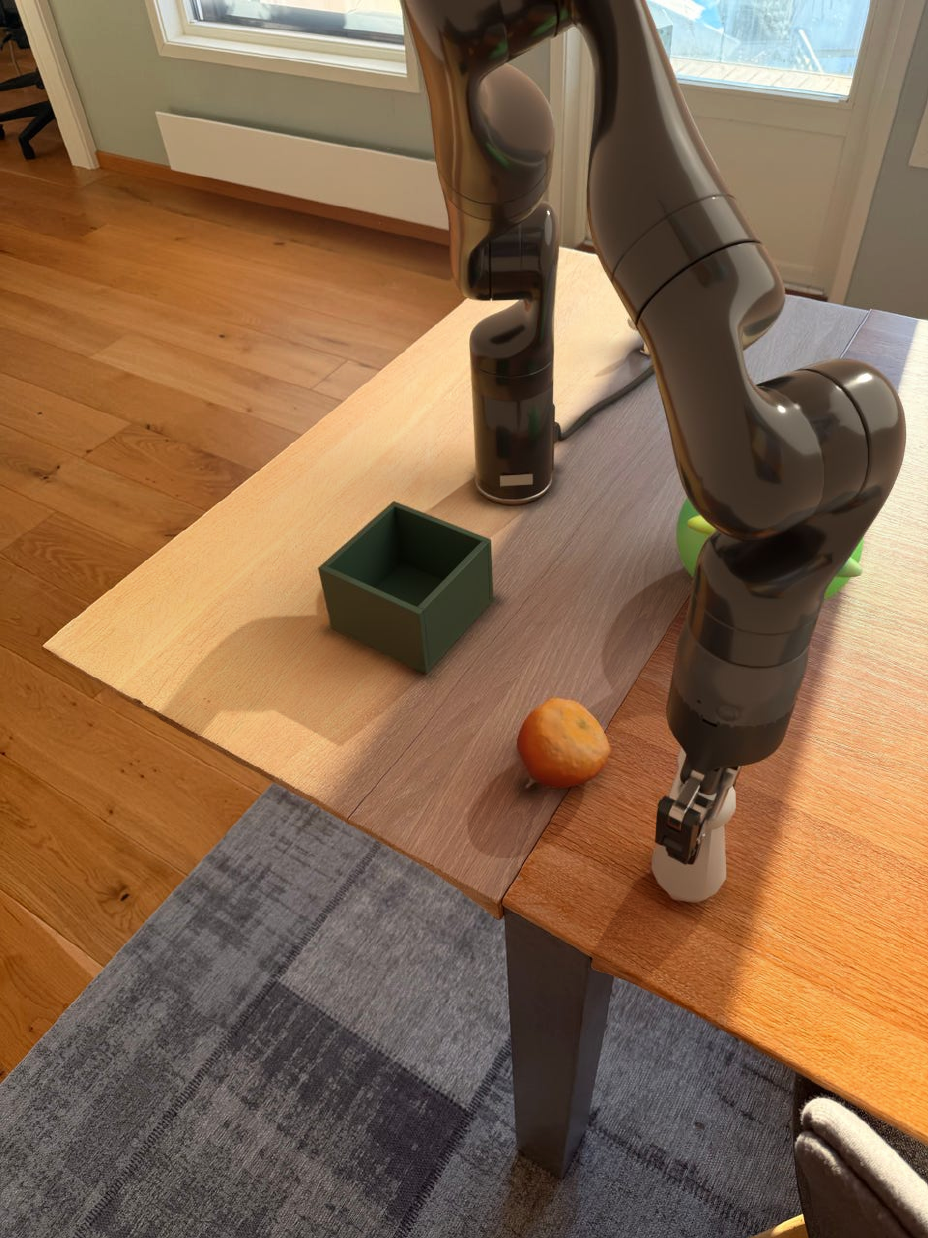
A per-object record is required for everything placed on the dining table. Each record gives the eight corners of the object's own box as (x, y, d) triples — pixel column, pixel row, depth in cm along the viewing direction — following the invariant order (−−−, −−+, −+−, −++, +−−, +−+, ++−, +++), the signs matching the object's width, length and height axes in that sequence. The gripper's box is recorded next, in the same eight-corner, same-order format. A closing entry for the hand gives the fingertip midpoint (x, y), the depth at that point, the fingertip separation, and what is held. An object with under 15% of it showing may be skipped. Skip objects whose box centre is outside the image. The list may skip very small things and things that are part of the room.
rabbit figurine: (679, 347, 132) (657, 345, 126) (658, 364, 134) (636, 363, 128) (657, 314, 133) (635, 310, 127) (637, 332, 135) (614, 329, 129)
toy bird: (847, 553, 99) (885, 441, 89) (839, 663, 88) (880, 550, 78) (682, 525, 104) (699, 415, 94) (654, 626, 93) (670, 515, 83)
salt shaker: (721, 919, 71) (750, 831, 61) (646, 907, 72) (664, 818, 62) (721, 853, 75) (748, 761, 65) (651, 843, 76) (668, 750, 66)
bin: (401, 560, 102) (393, 500, 96) (493, 600, 97) (491, 539, 91) (331, 628, 95) (317, 567, 89) (426, 675, 90) (418, 614, 84)
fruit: (491, 728, 83) (536, 675, 78) (563, 747, 86) (611, 697, 81) (501, 803, 77) (551, 750, 73) (578, 821, 81) (630, 771, 76)
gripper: (724, 583, 61) (692, 736, 73) (626, 728, 53) (608, 873, 65) (836, 625, 58) (783, 777, 70) (749, 786, 50) (706, 927, 62)
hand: (699, 823), depth 67 cm, fingers open, 5 cm apart
